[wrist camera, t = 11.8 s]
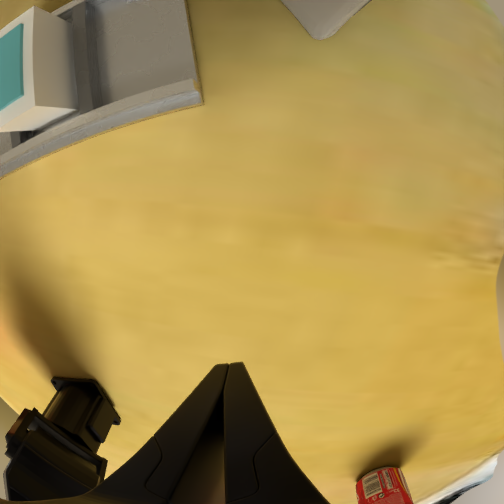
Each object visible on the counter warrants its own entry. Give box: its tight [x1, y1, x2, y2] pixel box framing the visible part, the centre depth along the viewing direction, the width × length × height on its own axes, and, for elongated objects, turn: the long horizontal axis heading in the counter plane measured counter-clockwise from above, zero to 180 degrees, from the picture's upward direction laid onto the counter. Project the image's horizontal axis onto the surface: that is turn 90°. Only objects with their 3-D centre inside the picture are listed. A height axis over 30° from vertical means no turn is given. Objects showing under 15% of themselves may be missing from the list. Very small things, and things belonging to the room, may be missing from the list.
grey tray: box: [0, 0, 204, 179], centre depth 15 cm, size 20×11×2 cm, turn 100°
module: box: [0, 6, 79, 132], centre depth 13 cm, size 4×7×5 cm, turn 10°
